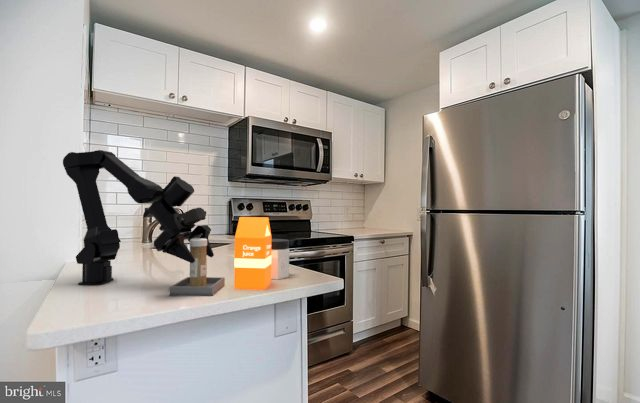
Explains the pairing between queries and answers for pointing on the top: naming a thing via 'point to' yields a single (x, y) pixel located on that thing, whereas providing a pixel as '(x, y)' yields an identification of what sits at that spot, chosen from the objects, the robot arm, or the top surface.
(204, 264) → the spice shaker
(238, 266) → the orange juice
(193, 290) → the tray
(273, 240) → the jar
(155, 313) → the top surface
